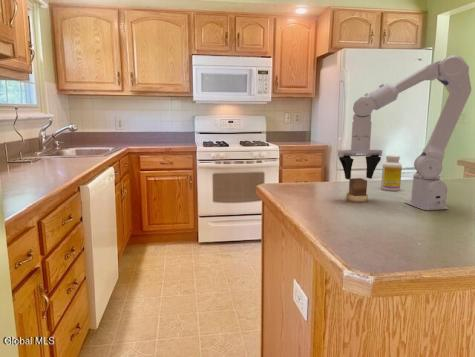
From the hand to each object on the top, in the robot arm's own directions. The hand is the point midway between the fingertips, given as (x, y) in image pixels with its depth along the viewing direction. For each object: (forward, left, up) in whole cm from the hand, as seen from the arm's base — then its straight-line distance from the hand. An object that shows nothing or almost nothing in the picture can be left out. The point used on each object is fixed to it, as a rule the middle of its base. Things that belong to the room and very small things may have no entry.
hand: (358, 178), depth 115 cm
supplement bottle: (+14, -22, -8) cm, 27 cm away
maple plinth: (0, 0, -7) cm, 7 cm away
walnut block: (0, 0, -5) cm, 5 cm away
